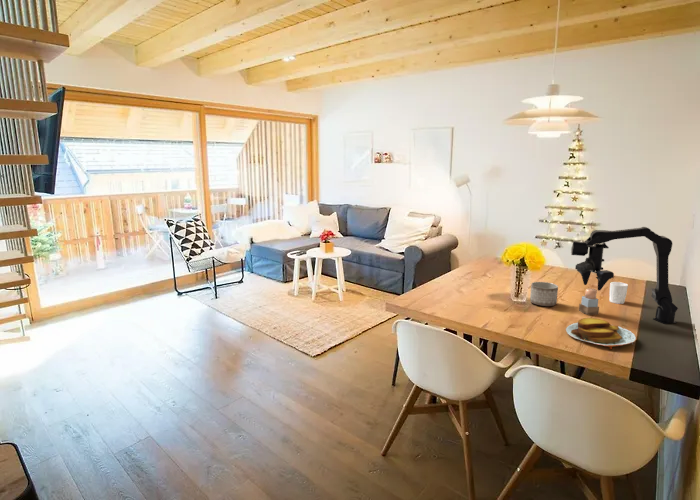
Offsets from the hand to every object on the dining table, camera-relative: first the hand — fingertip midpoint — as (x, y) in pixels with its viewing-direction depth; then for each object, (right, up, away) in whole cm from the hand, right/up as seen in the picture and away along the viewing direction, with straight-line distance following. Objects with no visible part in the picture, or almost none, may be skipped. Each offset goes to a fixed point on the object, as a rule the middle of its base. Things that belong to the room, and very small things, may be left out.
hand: (592, 287), depth 192 cm
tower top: (0, -9, +2) cm, 9 cm away
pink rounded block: (0, -5, +1) cm, 5 cm away
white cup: (+24, -10, +18) cm, 31 cm away
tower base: (0, -13, +3) cm, 13 cm away
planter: (-16, -10, +16) cm, 25 cm away
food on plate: (-13, -19, -26) cm, 34 cm away
